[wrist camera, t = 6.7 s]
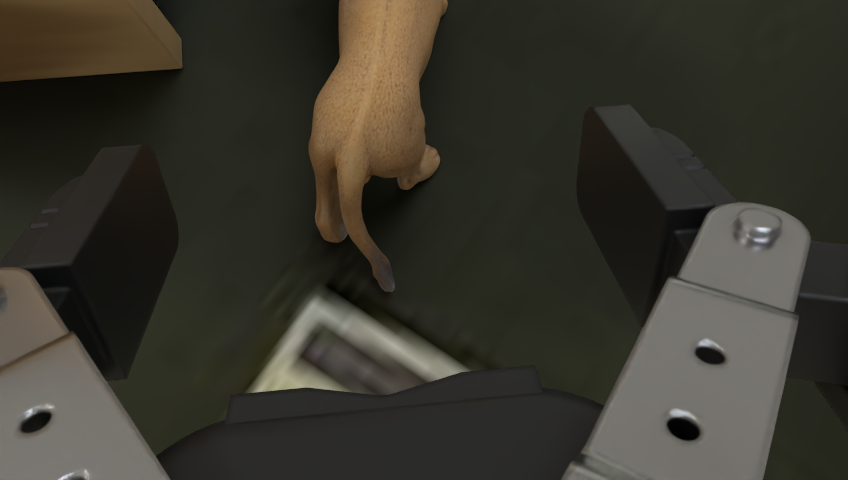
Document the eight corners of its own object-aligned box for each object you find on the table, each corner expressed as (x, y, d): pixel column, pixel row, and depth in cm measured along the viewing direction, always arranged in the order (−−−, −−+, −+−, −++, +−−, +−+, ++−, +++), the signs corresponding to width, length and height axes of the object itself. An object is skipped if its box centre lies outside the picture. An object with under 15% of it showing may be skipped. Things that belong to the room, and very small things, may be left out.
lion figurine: (308, -86, 24) (251, -333, 15) (446, -90, 24) (469, -336, 16) (318, 296, 22) (259, 267, 13) (470, 288, 22) (513, 254, 13)
